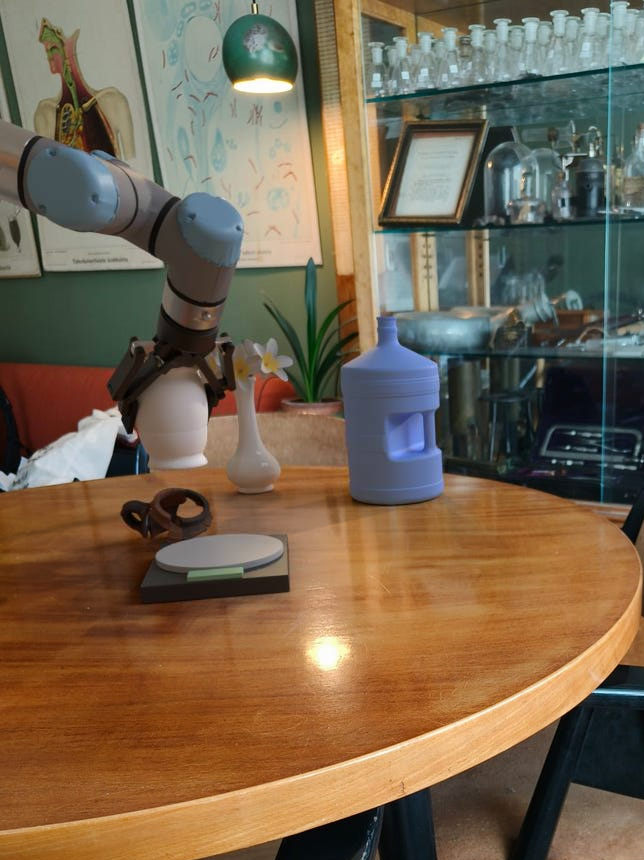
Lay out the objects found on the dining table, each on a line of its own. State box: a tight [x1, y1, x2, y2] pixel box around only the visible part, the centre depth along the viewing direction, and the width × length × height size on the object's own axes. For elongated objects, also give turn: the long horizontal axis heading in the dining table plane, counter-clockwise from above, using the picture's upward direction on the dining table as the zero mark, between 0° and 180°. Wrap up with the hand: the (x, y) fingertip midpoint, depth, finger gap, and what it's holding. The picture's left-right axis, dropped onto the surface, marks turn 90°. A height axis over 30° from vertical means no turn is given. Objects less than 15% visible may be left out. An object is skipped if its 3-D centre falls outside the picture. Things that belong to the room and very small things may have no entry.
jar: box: [134, 360, 209, 472], centre depth 129 cm, size 11×10×15 cm
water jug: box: [340, 315, 445, 506], centre depth 142 cm, size 16×16×28 cm
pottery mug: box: [119, 487, 214, 543], centre depth 121 cm, size 12×10×8 cm
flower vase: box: [199, 337, 294, 495], centre depth 149 cm, size 13×18×25 cm
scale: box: [139, 533, 291, 605], centre depth 107 cm, size 16×19×3 cm
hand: (165, 423), depth 131 cm, fingers closed on jar, 11 cm apart
